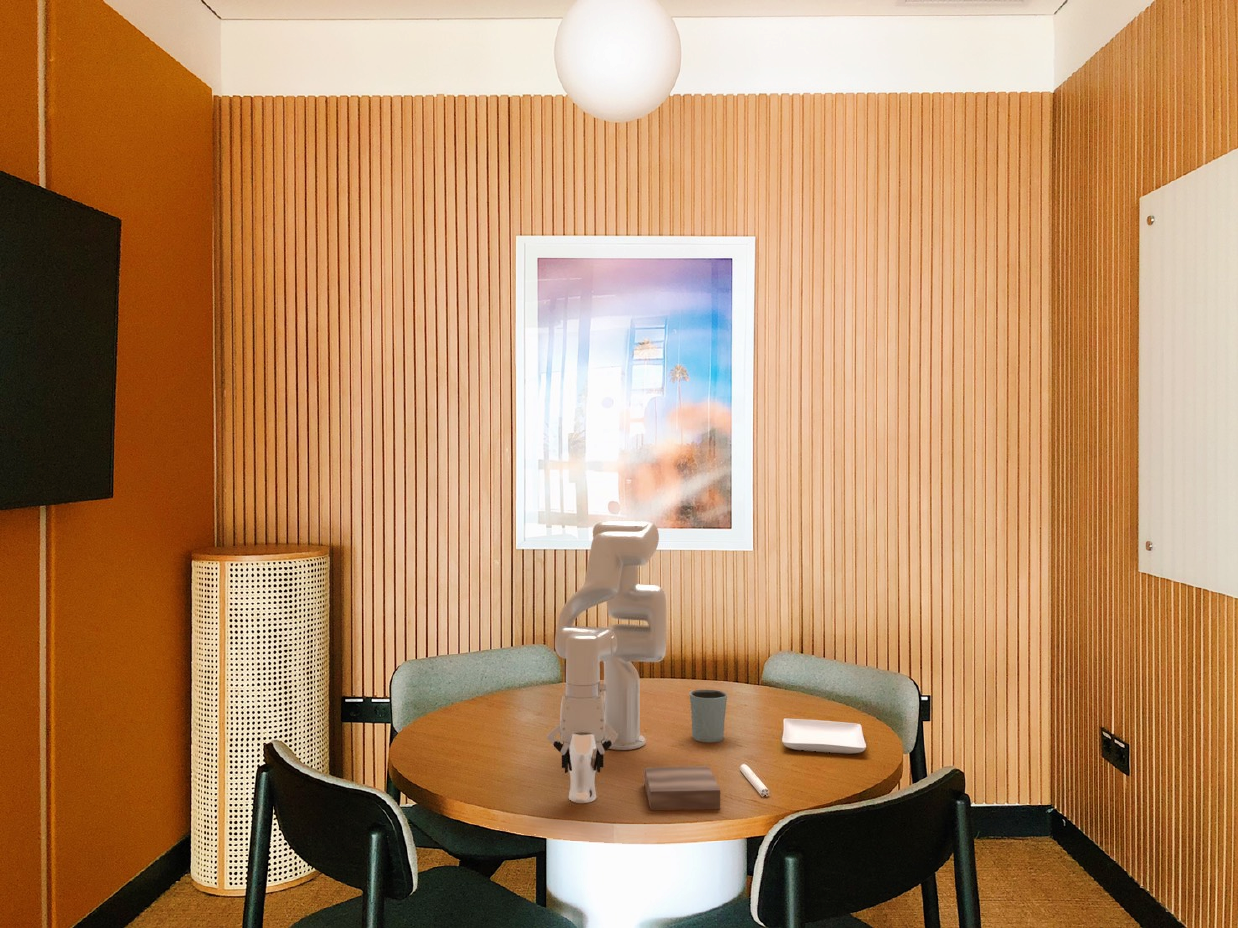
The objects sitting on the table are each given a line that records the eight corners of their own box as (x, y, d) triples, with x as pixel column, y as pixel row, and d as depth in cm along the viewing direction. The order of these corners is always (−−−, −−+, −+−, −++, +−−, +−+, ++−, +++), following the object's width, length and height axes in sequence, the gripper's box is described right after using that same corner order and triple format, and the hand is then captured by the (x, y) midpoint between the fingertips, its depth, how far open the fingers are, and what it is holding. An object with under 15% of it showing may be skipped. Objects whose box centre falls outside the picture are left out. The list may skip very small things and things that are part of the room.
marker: (737, 770, 207) (737, 760, 207) (746, 769, 207) (746, 760, 207) (760, 798, 189) (760, 787, 189) (769, 797, 189) (769, 787, 189)
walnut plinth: (644, 784, 196) (644, 767, 196) (708, 783, 197) (708, 766, 197) (650, 810, 181) (650, 791, 181) (720, 808, 182) (720, 790, 182)
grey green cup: (683, 739, 230) (684, 695, 230) (698, 729, 239) (698, 687, 239) (719, 745, 225) (719, 700, 225) (732, 735, 234) (732, 691, 234)
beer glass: (597, 792, 192) (598, 725, 192) (598, 804, 185) (598, 735, 185) (567, 792, 191) (567, 725, 191) (566, 804, 184) (566, 735, 185)
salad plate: (867, 759, 215) (867, 746, 215) (781, 754, 219) (781, 740, 219) (860, 734, 236) (860, 722, 236) (783, 729, 240) (783, 717, 240)
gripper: (620, 685, 192) (620, 764, 192) (544, 686, 191) (543, 765, 191) (622, 693, 185) (622, 776, 185) (543, 694, 184) (542, 777, 184)
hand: (582, 770), depth 188 cm, fingers closed on beer glass, 6 cm apart
